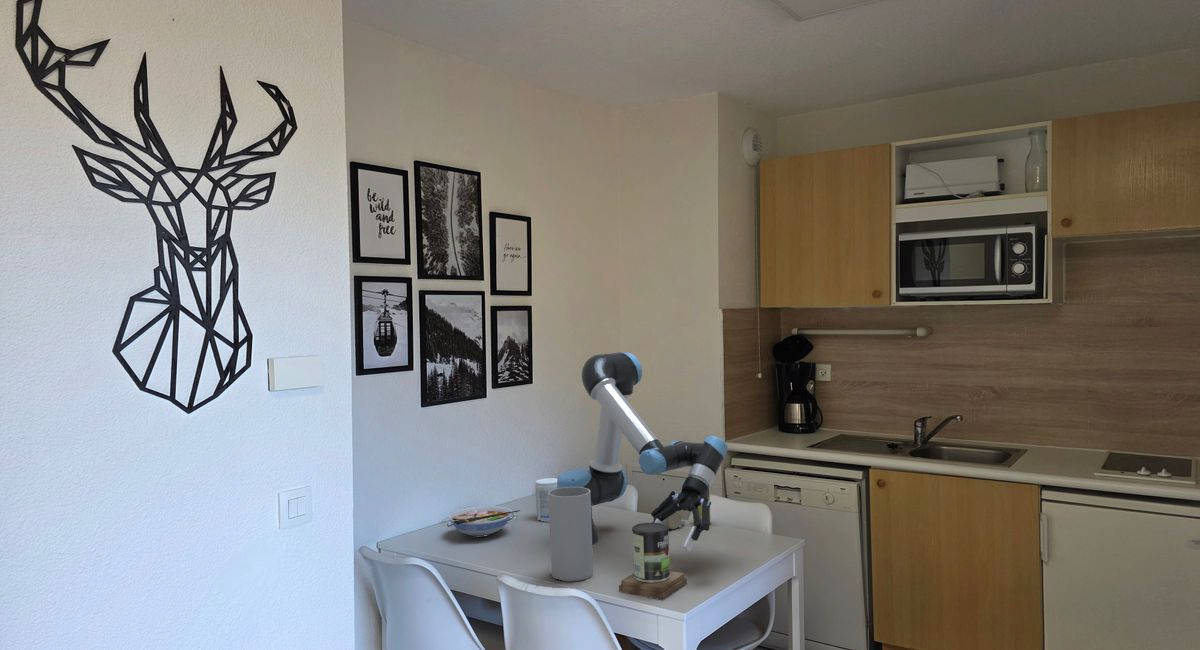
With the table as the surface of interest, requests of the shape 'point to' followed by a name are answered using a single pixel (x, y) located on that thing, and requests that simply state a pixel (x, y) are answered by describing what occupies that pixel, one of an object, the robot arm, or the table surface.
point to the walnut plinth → (653, 586)
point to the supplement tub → (544, 497)
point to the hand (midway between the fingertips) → (667, 544)
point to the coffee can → (651, 552)
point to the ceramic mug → (673, 520)
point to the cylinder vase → (570, 533)
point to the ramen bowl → (480, 519)
